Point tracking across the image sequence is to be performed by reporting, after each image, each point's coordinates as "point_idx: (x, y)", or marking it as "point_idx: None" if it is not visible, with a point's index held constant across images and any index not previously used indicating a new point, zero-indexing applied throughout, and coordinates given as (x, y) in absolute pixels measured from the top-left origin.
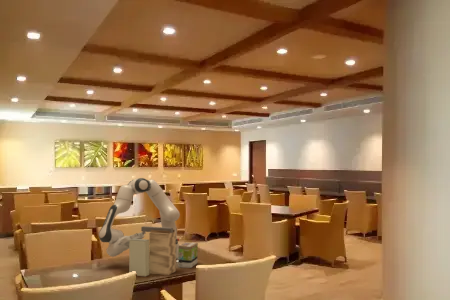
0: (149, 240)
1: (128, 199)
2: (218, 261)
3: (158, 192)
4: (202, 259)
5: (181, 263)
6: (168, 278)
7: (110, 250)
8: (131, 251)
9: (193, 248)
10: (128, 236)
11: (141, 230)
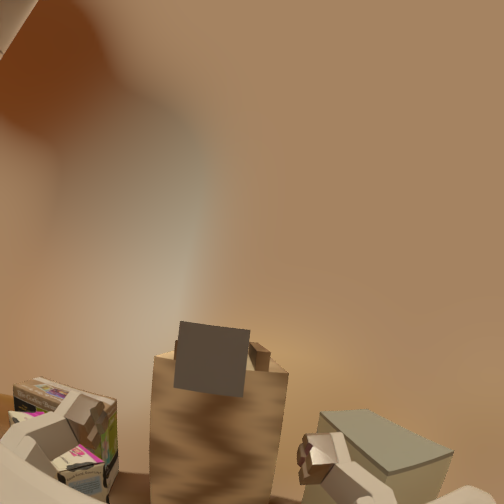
0: (280, 432)
1: None
2: None
3: (3, 52)
4: (2, 421)
5: (109, 477)
6: (290, 501)
7: None
8: None
9: None
10: (432, 501)
11: (244, 383)
